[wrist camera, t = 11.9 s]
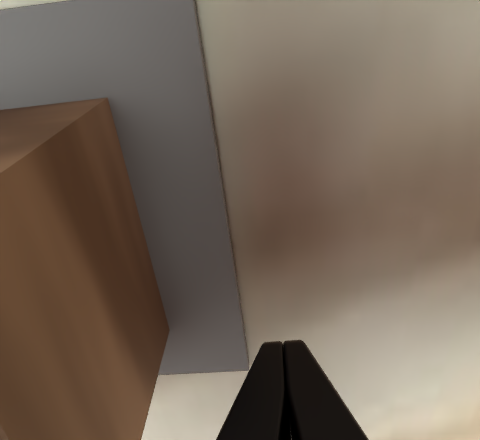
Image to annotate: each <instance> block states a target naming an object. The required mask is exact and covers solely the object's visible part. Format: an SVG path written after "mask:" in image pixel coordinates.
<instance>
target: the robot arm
mask: <svg viewBox="0 0 480 440" xmlns="http://www.w3.org/2000/svg"><path fill="white" fill-rule="evenodd" d="M291 439H292V440H369V439H368V438H367V436H366V435H365V433H364V432H363V430H362V429H361V427H360V426H359V424H358V423H357V421H356V420H355V418H354V417H353V415H352V414H351V412H350V411H349V409H348V408H347V406H346V405H345V403H344V402H343V400H342V399H341V397H340V396H339V394H338V392H337V391H336V389H335V388H334V386H333V385H332V383H331V382H330V380H329V379H328V377H327V376H326V374H325V373H324V371H323V370H322V368H321V367H320V365H319V364H318V362H317V361H316V359H315V358H314V356H313V355H312V353H311V352H310V350H309V349H308V347H307V346H306V344H305V343H304V342H303V341H302V340H291V341H285V342H284V343H282V342H280V341H275V342H264V343H263V344H262V346H261V347H260V350H259V352H258V354H257V356H256V358H255V360H254V362H253V364H252V366H251V368H250V370H249V372H248V374H247V376H246V379H245V381H244V383H243V385H242V387H241V389H240V391H239V393H238V395H237V397H236V399H235V401H234V403H233V405H232V408H231V410H230V412H229V414H228V416H227V418H226V420H225V422H224V424H223V426H222V428H221V430H220V432H219V434H218V437H217V439H216V440H291Z"/></svg>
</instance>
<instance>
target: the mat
mask: <svg viewBox="0 0 480 440" xmlns="http://www.w3.org/2000/svg"><path fill="white" fill-rule="evenodd" d="M99 98H108V101H109V105H110V109H111V113H112V116H113V120H114V124H115V128H116V131H117V135H118V139H119V143H120V146H121V150H122V154H123V158H124V161H125V165H126V169H127V172H128V176H129V180H130V184H131V187H132V191H133V195H134V199H135V202H136V206H137V210H138V214H139V217H140V221H141V225H142V229H143V232H144V236H145V240H146V243H147V247H148V251H149V255H150V258H151V262H152V266H153V270H154V273H155V277H156V281H157V285H158V288H159V292H160V296H161V300H162V303H163V307H164V311H165V315H166V318H167V322H168V326H169V329H170V331H169V334H168V338H167V342H166V346H165V350H164V354H163V357H162V361H161V365H160V369H159V373H158V375H169V374H189V373H209V372H228V371H248V370H249V359H248V352H247V345H246V339H245V332H244V325H243V318H242V312H241V305H240V298H239V292H238V285H237V278H236V272H235V265H234V258H233V252H232V245H231V238H230V232H229V225H228V218H227V212H226V205H225V198H224V192H223V185H222V178H221V172H220V165H219V158H218V152H217V145H216V138H215V132H214V125H213V118H212V112H211V105H210V98H209V92H208V85H207V78H206V72H205V65H204V58H203V52H202V45H201V38H200V31H199V25H198V18H197V11H196V5H195V0H69V1H62V2H54V3H47V4H40V5H32V6H25V7H18V8H11V9H3V10H0V110H4V109H12V108H21V107H30V106H38V105H47V104H56V103H64V102H73V101H82V100H91V99H99Z"/></svg>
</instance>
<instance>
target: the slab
mask: <svg viewBox="0 0 480 440" xmlns="http://www.w3.org/2000/svg"><path fill="white" fill-rule="evenodd" d="M169 331H170V329H169V326H168V322H167V318H166V315H165V311H164V307H163V303H162V300H161V296H160V292H159V288H158V285H157V281H156V277H155V273H154V270H153V266H152V262H151V258H150V255H149V251H148V247H147V243H146V240H145V236H144V232H143V229H142V225H141V221H140V217H139V214H138V210H137V206H136V202H135V199H134V195H133V191H132V187H131V184H130V180H129V176H128V172H127V169H126V165H125V161H124V158H123V154H122V150H121V146H120V143H119V139H118V135H117V131H116V128H115V124H114V120H113V116H112V113H111V109H110V105H109V101H108V98H99V99H91V100H82V101H73V102H64V103H56V104H47V105H38V106H30V107H21V108H12V109H4V110H0V440H141V438H142V434H143V430H144V426H145V422H146V419H147V415H148V411H149V407H150V403H151V399H152V396H153V392H154V388H155V384H156V380H157V377H158V373H159V369H160V365H161V361H162V357H163V354H164V350H165V346H166V342H167V338H168V334H169Z"/></svg>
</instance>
